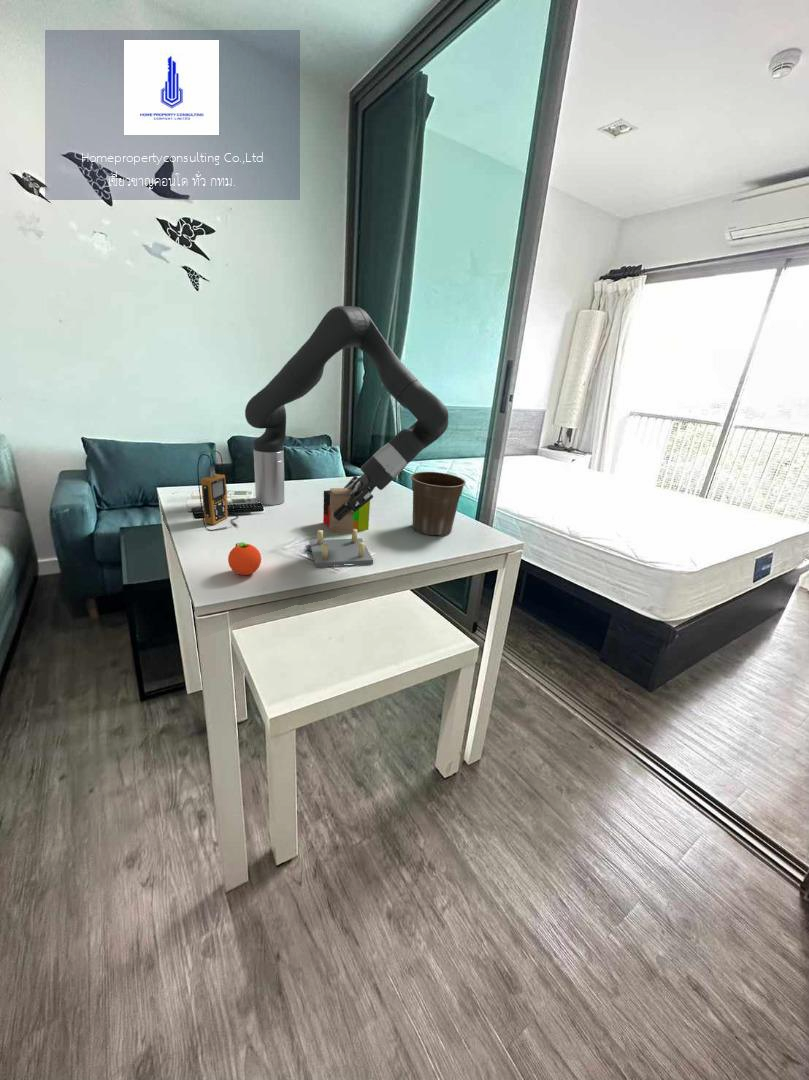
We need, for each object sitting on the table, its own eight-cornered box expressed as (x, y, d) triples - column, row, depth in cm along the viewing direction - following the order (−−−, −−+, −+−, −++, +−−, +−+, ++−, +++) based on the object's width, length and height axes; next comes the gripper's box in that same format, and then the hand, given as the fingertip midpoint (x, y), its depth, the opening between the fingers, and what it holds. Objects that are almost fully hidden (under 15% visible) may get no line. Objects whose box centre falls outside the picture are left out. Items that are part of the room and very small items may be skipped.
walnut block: (329, 526, 111) (330, 488, 107) (349, 525, 112) (350, 488, 108) (332, 533, 106) (333, 494, 103) (352, 532, 108) (354, 493, 104)
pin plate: (309, 544, 116) (309, 527, 114) (361, 542, 120) (362, 526, 118) (315, 567, 103) (315, 549, 102) (372, 564, 108) (374, 546, 106)
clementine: (221, 569, 98) (219, 540, 96) (250, 562, 103) (249, 534, 100) (237, 583, 93) (235, 553, 91) (267, 575, 98) (266, 545, 95)
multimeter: (229, 534, 118) (224, 460, 110) (196, 528, 119) (188, 456, 112) (257, 517, 131) (254, 451, 124) (227, 512, 133) (222, 447, 125)
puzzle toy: (352, 518, 137) (354, 488, 134) (368, 529, 130) (370, 497, 126) (323, 522, 132) (323, 490, 128) (337, 534, 124) (338, 500, 121)
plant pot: (469, 535, 132) (477, 483, 126) (425, 542, 124) (431, 487, 118) (438, 518, 145) (444, 470, 139) (396, 523, 137) (400, 473, 131)
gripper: (367, 449, 111) (319, 495, 112) (381, 462, 98) (327, 513, 99) (386, 470, 114) (339, 514, 115) (402, 484, 102) (349, 534, 103)
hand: (334, 514), depth 107 cm, fingers closed on walnut block, 5 cm apart
